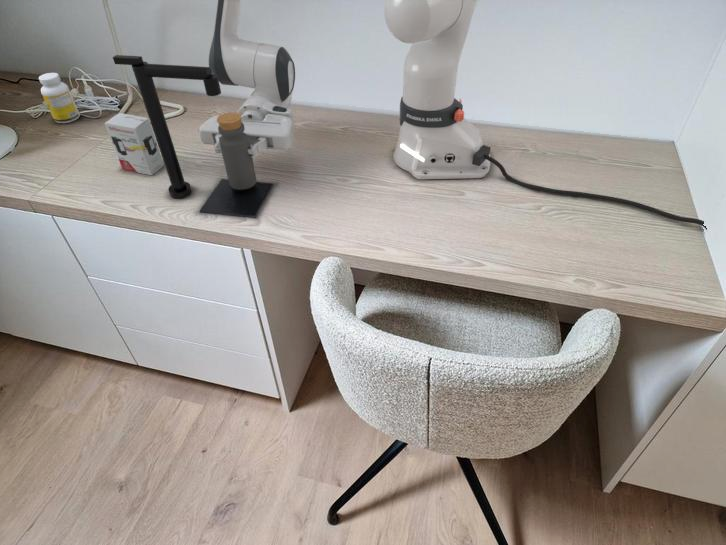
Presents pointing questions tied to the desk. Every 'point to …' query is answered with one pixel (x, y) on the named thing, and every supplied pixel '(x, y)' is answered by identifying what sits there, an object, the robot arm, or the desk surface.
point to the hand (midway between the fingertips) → (234, 151)
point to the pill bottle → (58, 98)
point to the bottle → (236, 151)
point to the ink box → (134, 143)
